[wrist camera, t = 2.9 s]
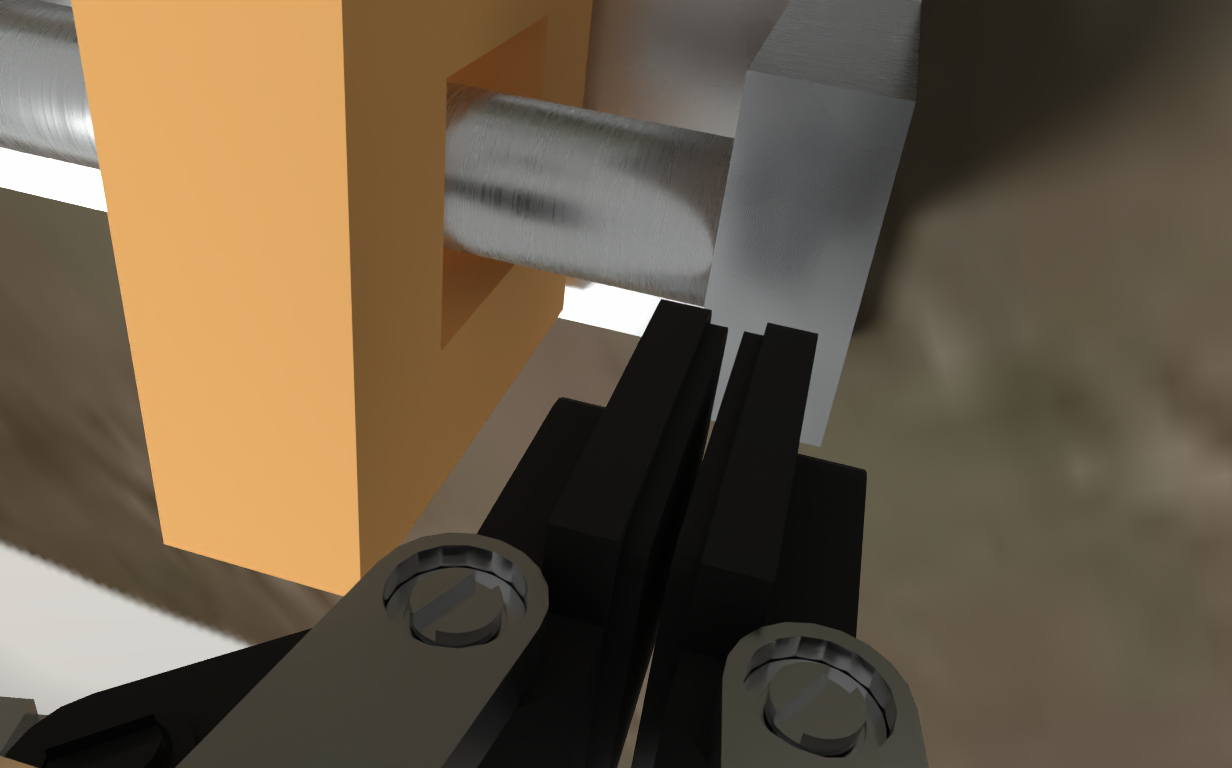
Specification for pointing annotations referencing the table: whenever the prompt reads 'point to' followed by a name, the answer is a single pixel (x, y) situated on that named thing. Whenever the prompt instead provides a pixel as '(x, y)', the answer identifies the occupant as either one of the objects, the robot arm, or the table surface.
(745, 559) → the robot arm
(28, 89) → the pipe stand
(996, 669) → the table surface
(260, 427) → the collar
